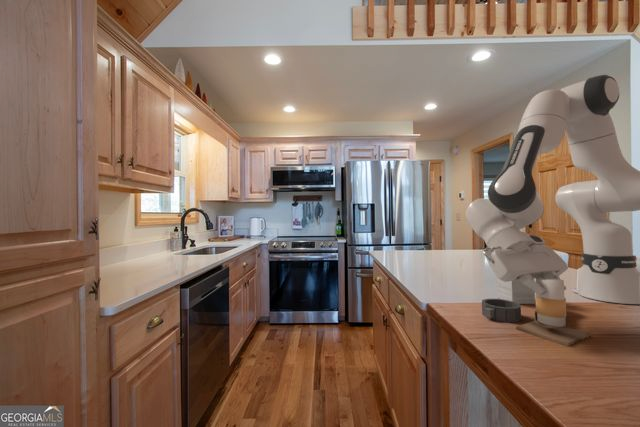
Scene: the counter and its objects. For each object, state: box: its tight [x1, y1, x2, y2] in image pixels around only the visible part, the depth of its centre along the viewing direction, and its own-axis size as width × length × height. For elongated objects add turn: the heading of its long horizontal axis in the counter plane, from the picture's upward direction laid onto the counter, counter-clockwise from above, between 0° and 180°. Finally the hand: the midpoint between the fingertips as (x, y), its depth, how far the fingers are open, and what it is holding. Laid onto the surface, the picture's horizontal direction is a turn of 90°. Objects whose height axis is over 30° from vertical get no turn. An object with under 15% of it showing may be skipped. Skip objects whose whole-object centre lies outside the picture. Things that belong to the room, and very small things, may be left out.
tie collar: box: [481, 298, 522, 323], centre depth 74 cm, size 10×9×4 cm
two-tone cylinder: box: [535, 277, 567, 327], centre depth 63 cm, size 5×5×10 cm
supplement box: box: [496, 276, 536, 305], centre depth 88 cm, size 7×7×13 cm
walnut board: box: [515, 319, 591, 347], centre depth 63 cm, size 10×10×1 cm
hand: (552, 292), depth 63 cm, fingers closed on two-tone cylinder, 5 cm apart
